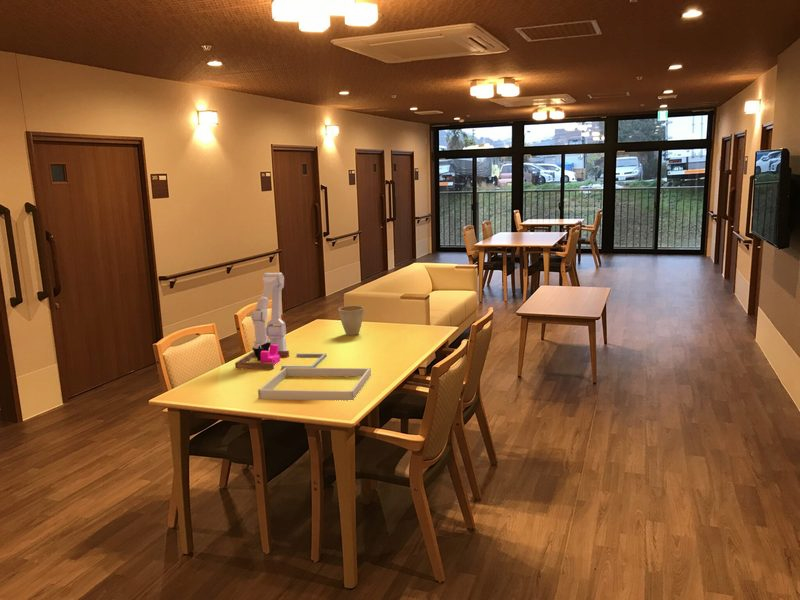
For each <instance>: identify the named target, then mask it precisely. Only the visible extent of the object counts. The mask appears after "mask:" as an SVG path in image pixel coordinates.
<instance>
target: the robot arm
mask: <svg viewBox="0 0 800 600" xmlns="http://www.w3.org/2000/svg"><path fill="white" fill-rule="evenodd" d="M262 282H263V290H262V291H261V292H262V293H261V297H259V298H258V299H257V303H256V306H255V309H254V310H252V312H251V321H252V324H253V325H254V327H253V328H254V335H255V336H254V337H255V338H254V339H255V341H253V343H254V344H253V347H252V348H251V349H252V351H254V353H255V355H256V357H255V358H256V359H257V361H258V362H261V353H260V352H261V351H269V350H270V345H271V344H275V345H278V351H289V349H287V341H286V340H287V339H286V337H285V336H286V335H287V328H286V322H285V321H284V320H282V293H283V292H282V290H283V289H284V287H285V276H284V274H283V273H282V272H264V273H263V276H262ZM270 296H271V312H270V313H271V317H270V320H269V321H268V322H266V321H267V319H268V308H269V304H270V300H269V298H270Z"/></svg>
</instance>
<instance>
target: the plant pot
mask: <svg viewBox="0 0 800 600" xmlns="http://www.w3.org/2000/svg"><path fill="white" fill-rule="evenodd" d="M364 311H365V309H364V306H362V305H361V306H360V305H347V306H340V307H339V308H338V313H339V314H338V315H339V318H340V321H341V324H342V328H343V329H344V332H345V335H347V336H349V335H354V336H357V335H356V334H358V335H359V334H360V331H361V327H362V322H363V317H364Z"/></svg>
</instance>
